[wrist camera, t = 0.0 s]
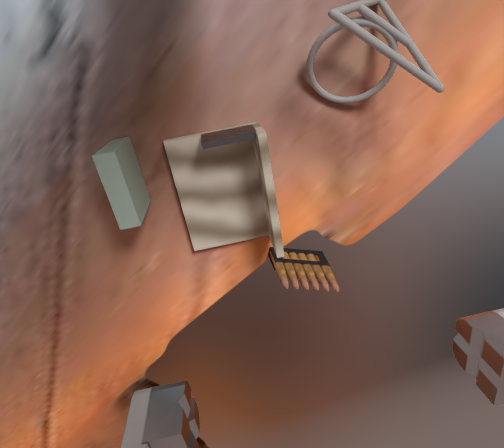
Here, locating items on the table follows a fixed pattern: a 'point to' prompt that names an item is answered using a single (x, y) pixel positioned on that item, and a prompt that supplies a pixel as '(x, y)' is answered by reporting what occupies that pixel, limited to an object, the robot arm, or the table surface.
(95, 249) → the table surface
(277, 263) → the ammunition clip
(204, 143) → the shelf
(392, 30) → the wire frame
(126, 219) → the grey flat block
